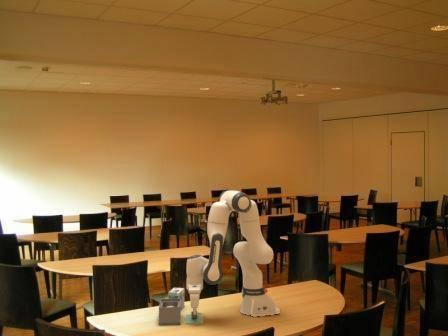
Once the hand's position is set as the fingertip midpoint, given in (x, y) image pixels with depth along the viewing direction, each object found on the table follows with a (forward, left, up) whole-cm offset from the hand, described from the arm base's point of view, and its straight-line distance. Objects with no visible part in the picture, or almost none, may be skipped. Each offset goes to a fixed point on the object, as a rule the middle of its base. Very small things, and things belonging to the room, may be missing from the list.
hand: (194, 311), depth 244 cm
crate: (+13, +1, -4) cm, 14 cm away
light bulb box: (+10, -18, -5) cm, 21 cm away
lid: (0, +1, -5) cm, 5 cm away
